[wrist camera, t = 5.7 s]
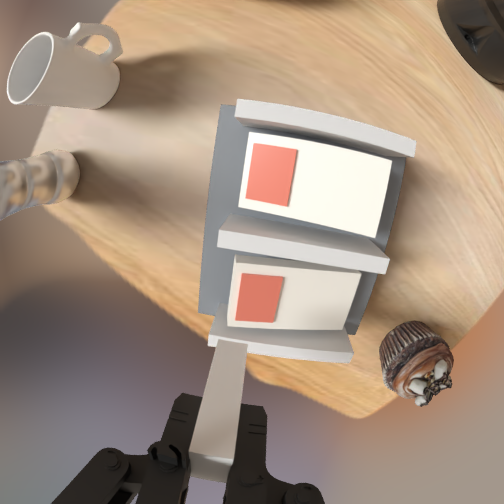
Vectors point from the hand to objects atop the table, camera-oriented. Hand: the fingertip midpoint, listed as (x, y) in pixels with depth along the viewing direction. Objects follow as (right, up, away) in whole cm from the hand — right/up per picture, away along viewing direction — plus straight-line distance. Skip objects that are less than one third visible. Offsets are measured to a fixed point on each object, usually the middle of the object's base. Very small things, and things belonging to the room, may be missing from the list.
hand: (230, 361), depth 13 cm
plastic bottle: (-22, +15, +14) cm, 30 cm away
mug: (-15, +26, +9) cm, 31 cm away
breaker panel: (+6, +9, +14) cm, 17 cm away
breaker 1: (+6, +11, +6) cm, 13 cm away
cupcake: (+22, -7, +18) cm, 30 cm away
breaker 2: (+4, +2, +9) cm, 10 cm away
